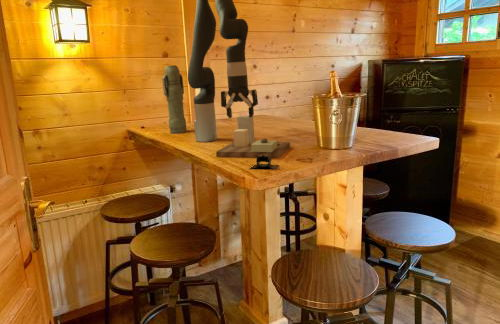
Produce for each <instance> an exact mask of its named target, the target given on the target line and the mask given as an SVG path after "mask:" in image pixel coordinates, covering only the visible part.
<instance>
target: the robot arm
mask: <svg viewBox="0 0 500 324" xmlns="http://www.w3.org/2000/svg"><path fill="white" fill-rule="evenodd" d="M214 1H215V3H214V4H215V5H214V6H215V9H216V12H217V15H218V18H219V34H220V37H221V38H223V39H224V40H237V41H236V44H233V45H230V46H228V47H226V50H225V54H226V75H227V76H226V77H227V87H228V89H227V90H228V91H227V90H226V91H225V90H222V91H220V106H221V107H222V108H225V110H226V117H228V119H232V118H233V112H232V105H233V104H234V103H238V102H241V103H242V102H244V103H245V104H246V105H247V106H248V116H249V117H252V116H253V117H254V116H255V115H254V113H255V112H254V111H255V109H254V107H256V106H258V105H259V101H258V95H257V94H258V92H257V89H255V88H254V89H250V90H249V83H248V69H247V63H246V44H247V38H248V33H249V32H248V31H249V25H248V23H247V21H246V20H245V19H243V18H238V11H237V8H236V5H235V3H234V1H233V0H214ZM209 2H210V1H209V0H196V5H195V6H196V7H195V14H194V15H195V17H194V22H193V33H192V34H193V36H192V38H193V39H192V46H191V55H190V60H189V64H188V65H189V66H188V70H187V82H188V85H189V86H190V88H192V89H197V90H198V89H199V93H198V94H197V95H195V96H194V97H193V106H194V107H193V108H194V117H195V118H194V119H195V120H193V124H194V125H193V127H194V134H195V141H196V142H201V143H202V142H204V143H206V142H207V143H208V142H214V141H216V140H218V131H217V120H216V119H217V118H216V108H215V107H216V106H215V97H216V78H215V73H214V71H213V69H212V68H211V67H209V66H204V62H205V57H206V55H207V53H208V52H209V50H210V48H211V47H212V45H213V43H214V42H215V41H214V40H215V36H216V31H217V19H216V17H215V14H214V11H213V10H212V7H211V5H210V3H209ZM249 95H250V96H251V98H252V101H251V99H250V98H249ZM228 96H229V99H228V101H227V97H228Z"/></svg>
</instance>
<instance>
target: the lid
mask: <svg viewBox="0 0 500 324" xmlns="http://www.w3.org/2000/svg"><path fill="white" fill-rule="evenodd" d="M277 142H278V140H274V139H273V140H268V138H261V139H260V140H259V139H258V140H255V142H254V143H253V144H251V152H273V151H274V150H275V149H276V148H277Z"/></svg>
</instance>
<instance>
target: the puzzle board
mask: <svg viewBox="0 0 500 324" xmlns="http://www.w3.org/2000/svg"><path fill="white" fill-rule="evenodd" d="M253 143H254V142H249V146H248V147H234V141H232V142H230V143H229V144H227V145H225V146H223V147H222V148H220V149H218V150H217V151H215V154H216V158H246V159H247V158H253V159H257V156H258V155H259V154H270V157H271V159H280V158H281V157H282V155H284V154H285V153H286V152H287V150H289V149H290V148H291V142H290V141H277V148H276V149H275V150H274V151H273V152H251V144H253Z"/></svg>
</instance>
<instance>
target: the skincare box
mask: <svg viewBox="0 0 500 324" xmlns="http://www.w3.org/2000/svg"><path fill="white" fill-rule="evenodd" d="M236 121H237V129H248V137H249V142H256V140H255V139H256V138H255V126H254V125H255V124H254V115H253V116H252V117H249V115H239V116H237V117H236Z"/></svg>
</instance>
